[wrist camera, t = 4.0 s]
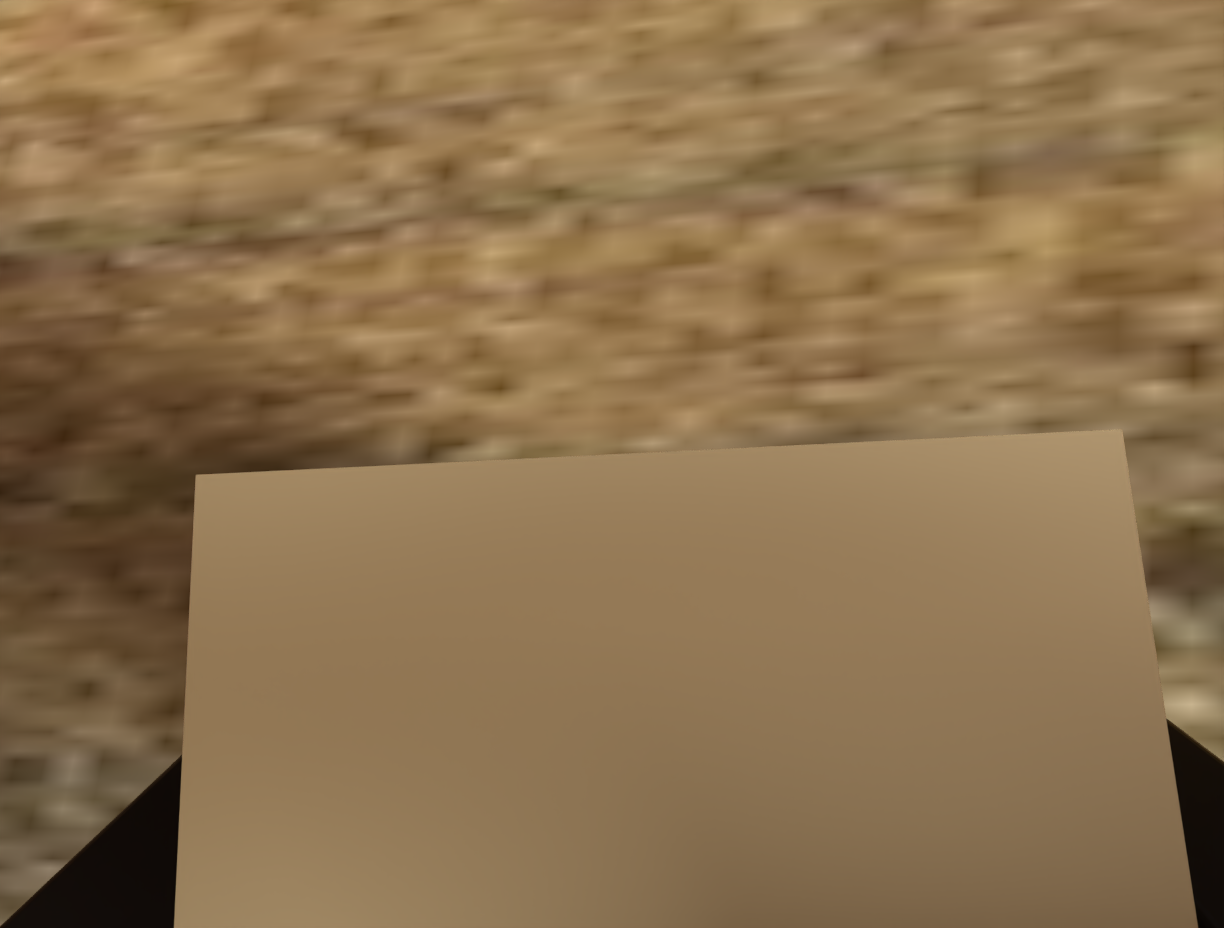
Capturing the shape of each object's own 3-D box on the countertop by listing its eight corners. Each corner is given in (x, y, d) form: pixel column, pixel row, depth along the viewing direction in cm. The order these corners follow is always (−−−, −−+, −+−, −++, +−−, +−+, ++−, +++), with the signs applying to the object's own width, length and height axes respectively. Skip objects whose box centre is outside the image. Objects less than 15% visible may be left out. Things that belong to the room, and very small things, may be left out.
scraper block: (820, 920, 16) (1294, 1563, 4) (522, 929, 16) (142, 1579, 4) (796, 618, 17) (1123, 428, 5) (515, 630, 17) (195, 476, 5)
